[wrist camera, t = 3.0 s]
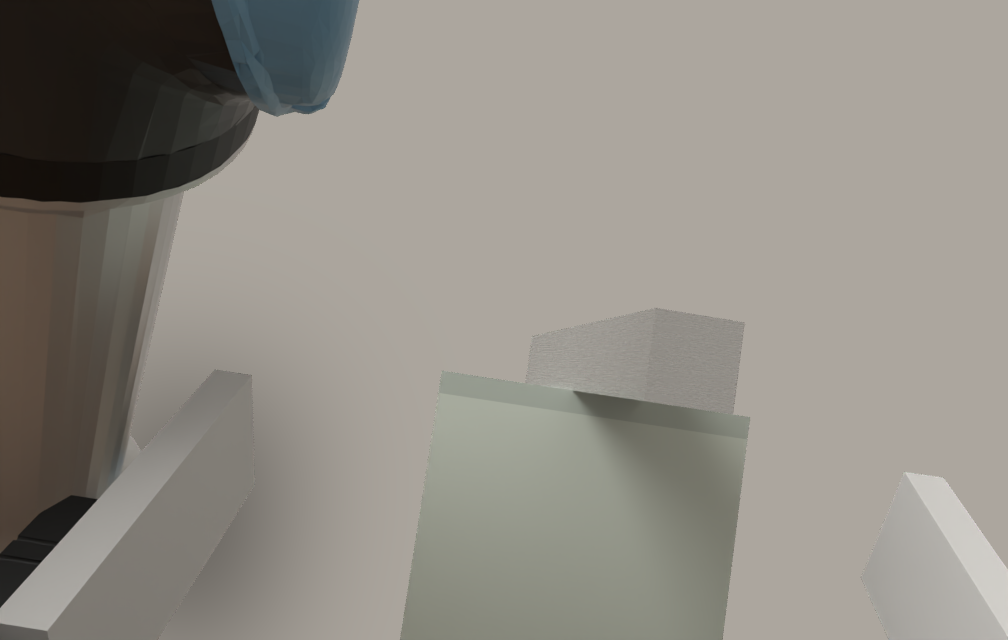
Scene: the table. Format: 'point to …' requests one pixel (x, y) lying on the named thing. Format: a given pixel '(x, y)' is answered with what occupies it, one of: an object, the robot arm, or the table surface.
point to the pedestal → (573, 517)
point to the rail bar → (644, 359)
